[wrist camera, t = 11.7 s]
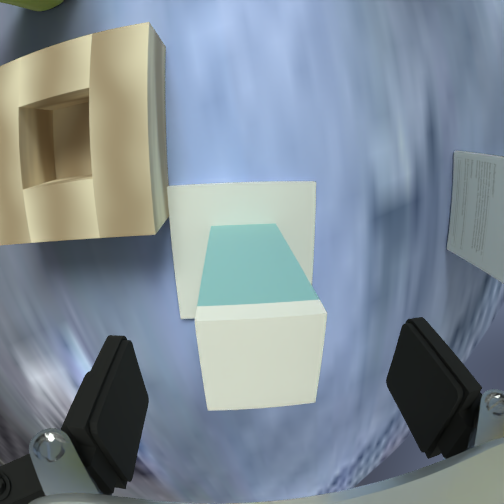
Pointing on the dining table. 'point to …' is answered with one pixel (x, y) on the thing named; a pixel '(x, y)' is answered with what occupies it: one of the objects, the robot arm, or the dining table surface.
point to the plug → (257, 321)
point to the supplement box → (478, 211)
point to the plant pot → (34, 4)
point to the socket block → (84, 139)
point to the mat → (235, 213)
